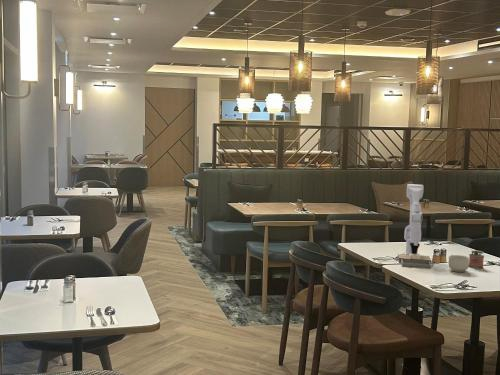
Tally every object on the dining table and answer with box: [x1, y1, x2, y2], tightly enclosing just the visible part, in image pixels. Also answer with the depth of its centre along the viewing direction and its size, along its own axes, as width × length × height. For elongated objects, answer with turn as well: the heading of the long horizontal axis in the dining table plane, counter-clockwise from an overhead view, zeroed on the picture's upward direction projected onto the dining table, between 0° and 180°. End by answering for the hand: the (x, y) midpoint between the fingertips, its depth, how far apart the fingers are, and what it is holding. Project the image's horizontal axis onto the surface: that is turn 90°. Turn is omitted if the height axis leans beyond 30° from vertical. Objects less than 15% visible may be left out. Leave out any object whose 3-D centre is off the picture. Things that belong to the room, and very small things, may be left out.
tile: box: [409, 253, 422, 259], centre depth 353 cm, size 5×6×2 cm
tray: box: [400, 259, 432, 269], centre depth 345 cm, size 10×16×2 cm, turn 80°
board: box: [397, 253, 432, 264], centre depth 356 cm, size 12×18×2 cm
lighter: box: [468, 249, 485, 270], centre depth 345 cm, size 8×3×10 cm, turn 62°
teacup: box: [448, 254, 469, 273], centre depth 337 cm, size 14×11×8 cm
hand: (413, 255), depth 359 cm, fingers closed
